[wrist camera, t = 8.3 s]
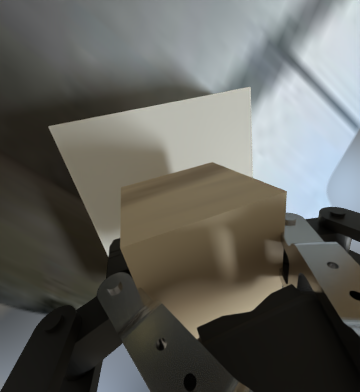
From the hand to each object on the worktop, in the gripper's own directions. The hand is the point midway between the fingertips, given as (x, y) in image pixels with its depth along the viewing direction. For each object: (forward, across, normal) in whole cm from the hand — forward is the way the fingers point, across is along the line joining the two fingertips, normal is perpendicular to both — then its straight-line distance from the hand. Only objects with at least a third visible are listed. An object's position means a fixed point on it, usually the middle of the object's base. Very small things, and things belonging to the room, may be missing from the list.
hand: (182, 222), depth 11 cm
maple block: (+1, 0, 0) cm, 1 cm away
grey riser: (+9, -1, +2) cm, 9 cm away
